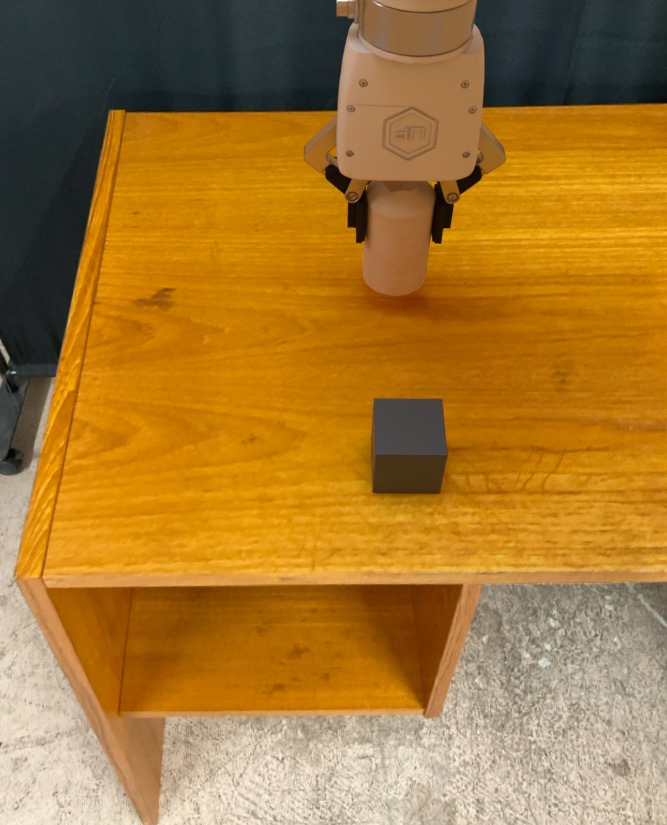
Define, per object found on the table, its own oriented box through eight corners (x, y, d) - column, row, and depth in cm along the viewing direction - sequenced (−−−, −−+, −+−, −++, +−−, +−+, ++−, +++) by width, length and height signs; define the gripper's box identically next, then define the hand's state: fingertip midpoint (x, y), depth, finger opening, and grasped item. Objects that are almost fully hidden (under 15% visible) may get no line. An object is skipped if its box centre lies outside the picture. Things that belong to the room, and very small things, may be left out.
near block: (435, 438, 63) (442, 398, 59) (440, 493, 60) (447, 455, 56) (370, 437, 63) (373, 397, 59) (372, 493, 60) (375, 454, 56)
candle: (432, 293, 70) (445, 197, 62) (368, 300, 69) (374, 204, 61) (417, 250, 73) (428, 153, 65) (357, 256, 72) (360, 160, 64)
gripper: (280, 42, 51) (291, 262, 65) (558, 44, 51) (507, 264, 65) (285, -16, 55) (294, 202, 70) (540, -14, 55) (497, 204, 70)
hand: (397, 230), depth 67 cm, fingers closed on candle, 5 cm apart
